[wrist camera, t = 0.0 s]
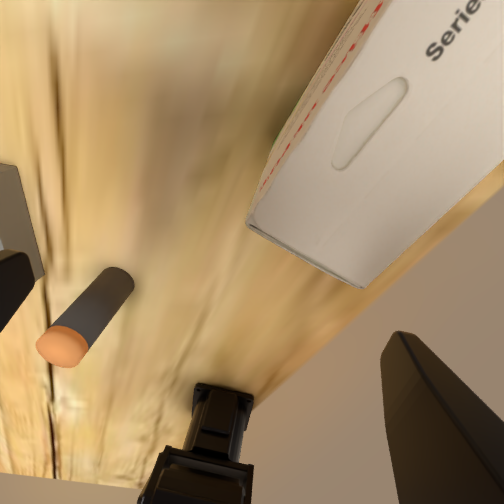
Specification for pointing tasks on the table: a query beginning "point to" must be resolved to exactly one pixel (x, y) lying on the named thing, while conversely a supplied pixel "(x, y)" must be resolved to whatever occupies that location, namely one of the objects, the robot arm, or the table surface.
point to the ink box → (386, 135)
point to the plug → (85, 319)
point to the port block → (16, 219)
